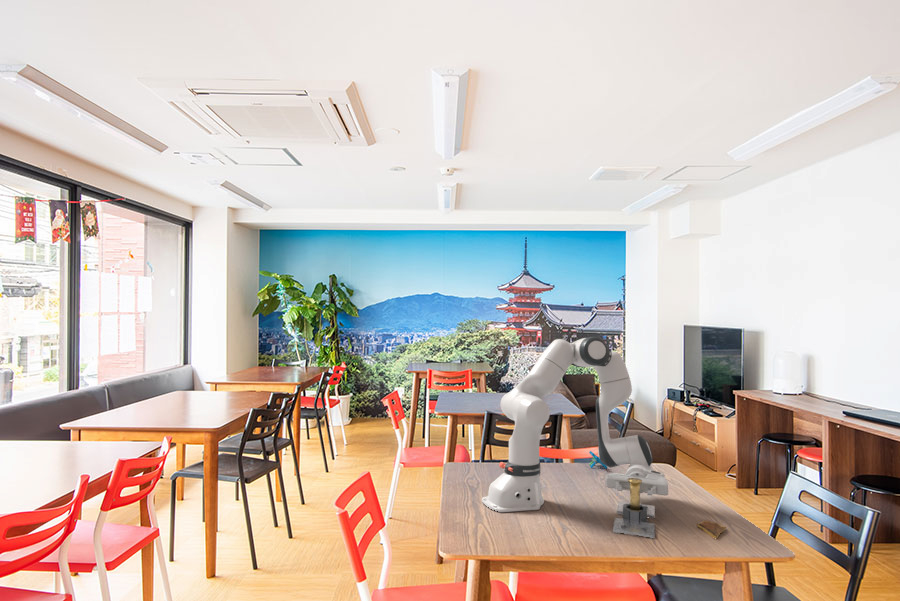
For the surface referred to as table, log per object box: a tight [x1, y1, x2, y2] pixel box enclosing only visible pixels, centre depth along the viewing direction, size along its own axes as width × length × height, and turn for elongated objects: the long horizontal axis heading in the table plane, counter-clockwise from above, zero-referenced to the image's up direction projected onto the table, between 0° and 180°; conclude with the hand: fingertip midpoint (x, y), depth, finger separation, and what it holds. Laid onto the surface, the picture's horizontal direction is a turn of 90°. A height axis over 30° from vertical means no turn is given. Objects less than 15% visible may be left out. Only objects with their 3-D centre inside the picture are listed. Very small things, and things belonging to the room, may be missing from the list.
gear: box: [588, 450, 608, 469], centre depth 228 cm, size 11×6×10 cm
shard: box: [696, 519, 727, 540], centre depth 158 cm, size 11×8×2 cm
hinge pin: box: [628, 478, 642, 511], centre depth 167 cm, size 4×4×13 cm
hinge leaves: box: [612, 501, 656, 539], centre depth 167 cm, size 27×12×4 cm, turn 158°
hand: (634, 490), depth 166 cm, fingers open, 8 cm apart
